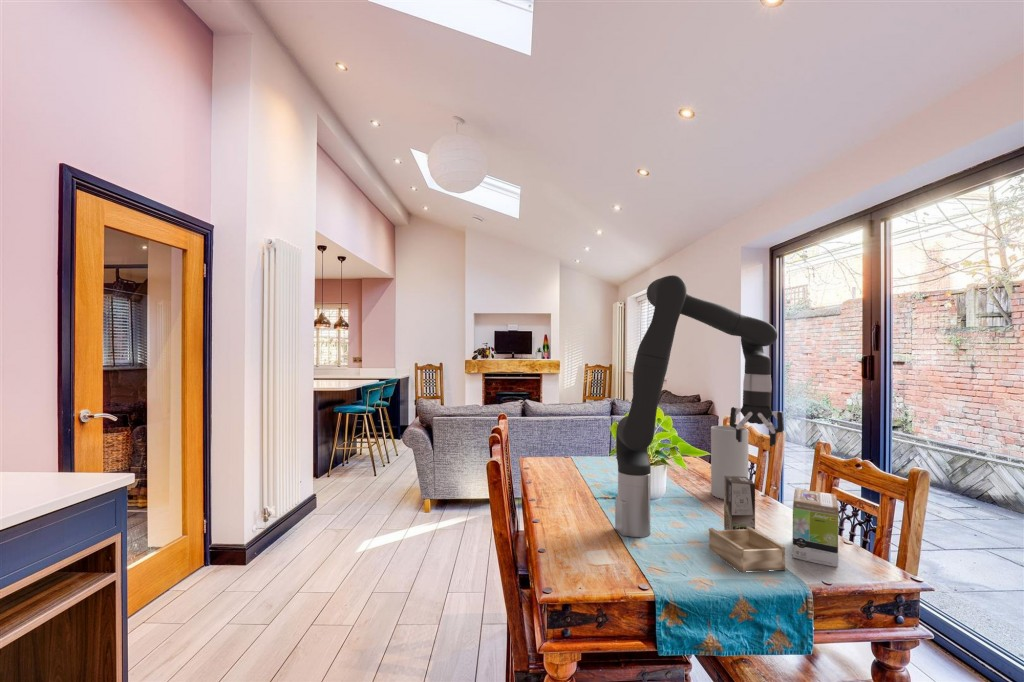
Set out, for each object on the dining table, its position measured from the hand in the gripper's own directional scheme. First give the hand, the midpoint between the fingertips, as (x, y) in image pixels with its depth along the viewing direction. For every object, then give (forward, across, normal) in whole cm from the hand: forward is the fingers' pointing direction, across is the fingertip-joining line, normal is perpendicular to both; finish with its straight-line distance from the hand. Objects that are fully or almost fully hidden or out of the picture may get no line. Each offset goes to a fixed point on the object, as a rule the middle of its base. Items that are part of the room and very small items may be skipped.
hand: (755, 444), depth 143 cm
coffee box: (+26, -2, -8) cm, 27 cm away
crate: (+26, +3, -25) cm, 36 cm away
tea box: (+25, +16, -9) cm, 31 cm away
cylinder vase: (+25, -14, +32) cm, 43 cm away
